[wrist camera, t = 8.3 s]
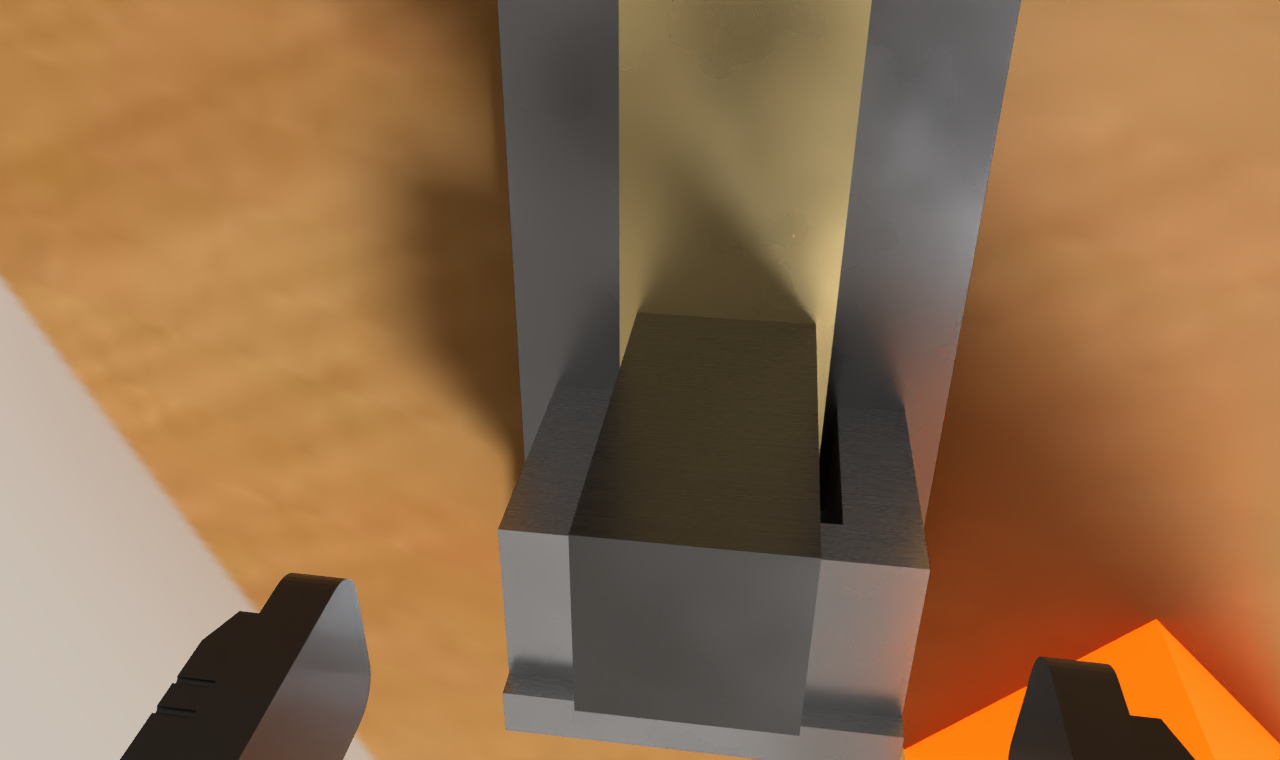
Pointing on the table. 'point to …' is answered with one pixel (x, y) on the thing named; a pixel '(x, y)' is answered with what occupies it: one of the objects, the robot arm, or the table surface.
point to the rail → (859, 367)
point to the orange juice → (1129, 706)
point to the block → (718, 361)
